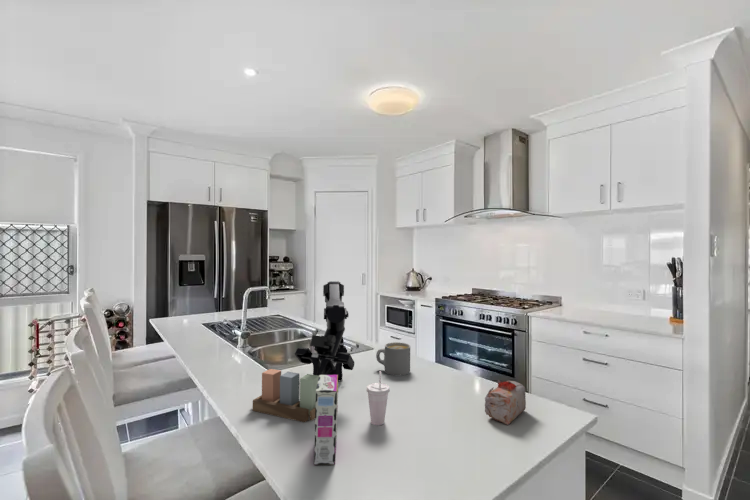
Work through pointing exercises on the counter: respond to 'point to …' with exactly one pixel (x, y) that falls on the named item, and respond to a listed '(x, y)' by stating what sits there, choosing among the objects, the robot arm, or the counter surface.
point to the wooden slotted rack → (283, 410)
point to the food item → (505, 401)
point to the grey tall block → (289, 388)
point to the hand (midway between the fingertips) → (314, 384)
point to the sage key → (308, 391)
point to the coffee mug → (395, 358)
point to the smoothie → (377, 401)
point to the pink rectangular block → (271, 385)
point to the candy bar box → (326, 420)
